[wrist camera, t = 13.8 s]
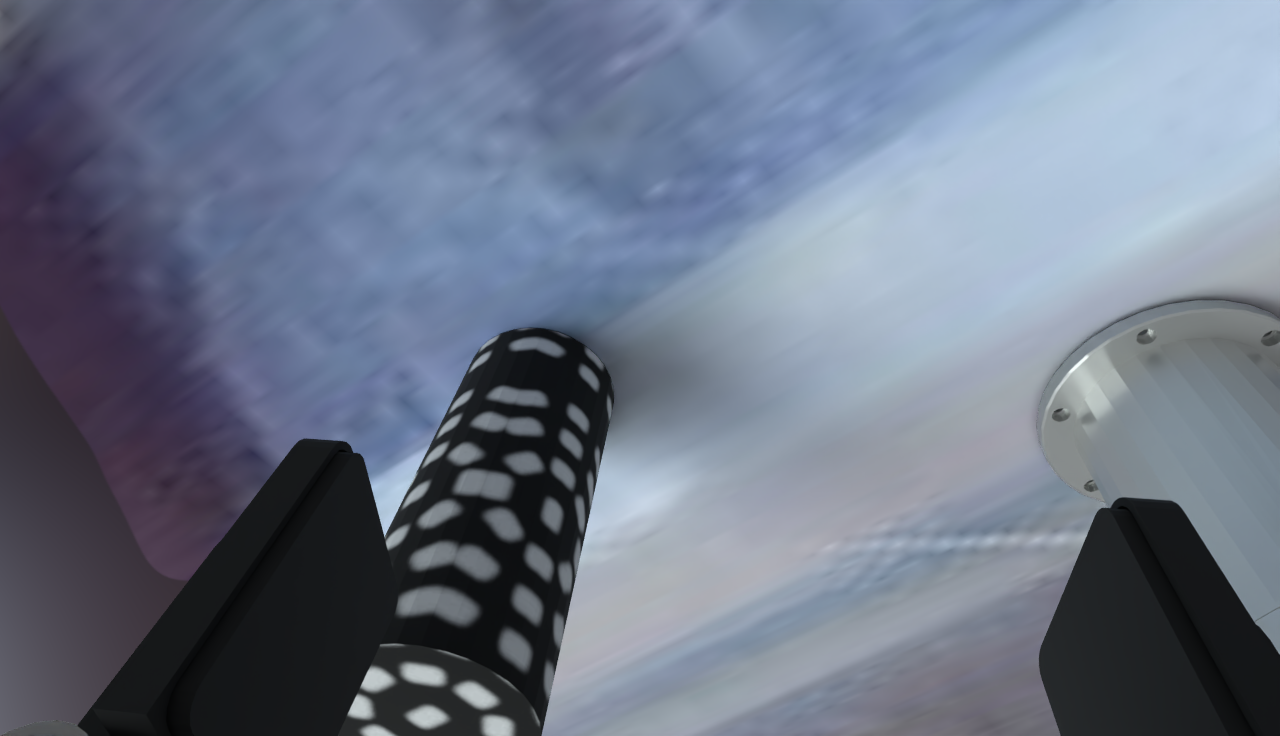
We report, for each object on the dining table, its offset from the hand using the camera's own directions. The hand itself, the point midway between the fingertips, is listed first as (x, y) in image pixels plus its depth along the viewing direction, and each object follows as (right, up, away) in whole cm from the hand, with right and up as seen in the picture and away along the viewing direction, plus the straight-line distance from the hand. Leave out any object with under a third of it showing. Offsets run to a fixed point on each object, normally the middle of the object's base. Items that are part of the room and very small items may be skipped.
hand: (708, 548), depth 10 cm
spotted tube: (-7, +1, +35) cm, 35 cm away
